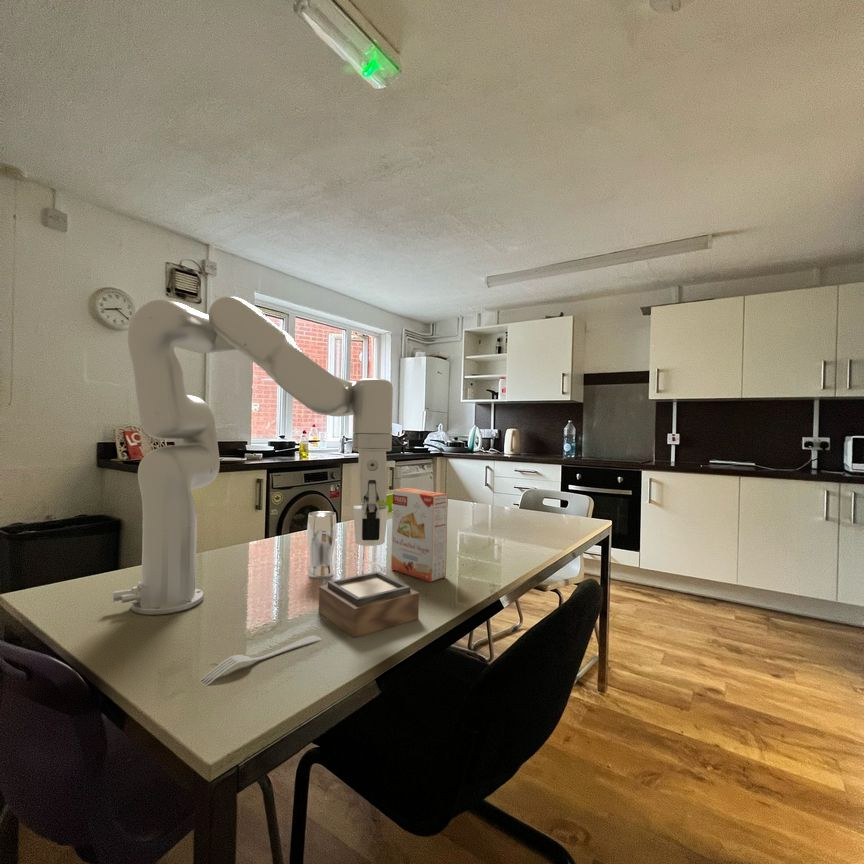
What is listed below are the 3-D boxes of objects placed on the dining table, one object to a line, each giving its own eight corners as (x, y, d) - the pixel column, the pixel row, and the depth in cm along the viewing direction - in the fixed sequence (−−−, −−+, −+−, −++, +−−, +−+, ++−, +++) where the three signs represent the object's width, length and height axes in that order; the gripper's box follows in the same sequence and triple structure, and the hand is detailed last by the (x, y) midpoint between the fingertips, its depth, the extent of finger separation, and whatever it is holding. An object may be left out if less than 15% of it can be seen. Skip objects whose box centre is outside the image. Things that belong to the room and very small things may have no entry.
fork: (324, 655, 80) (326, 638, 80) (202, 691, 64) (205, 671, 64) (314, 649, 82) (316, 633, 82) (193, 684, 66) (196, 664, 66)
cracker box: (389, 570, 119) (391, 488, 119) (406, 565, 124) (408, 486, 124) (430, 583, 110) (432, 495, 110) (446, 577, 115) (449, 492, 114)
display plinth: (354, 637, 81) (354, 603, 81) (318, 611, 92) (319, 581, 92) (418, 618, 90) (419, 587, 90) (379, 596, 100) (379, 569, 100)
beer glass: (299, 575, 113) (301, 514, 113) (319, 568, 119) (320, 509, 119) (322, 580, 110) (323, 517, 110) (341, 573, 116) (342, 512, 116)
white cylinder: (345, 541, 90) (345, 505, 90) (373, 536, 95) (374, 502, 95) (366, 548, 86) (367, 510, 86) (395, 542, 90) (395, 506, 90)
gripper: (395, 445, 82) (392, 546, 82) (388, 442, 99) (386, 525, 100) (351, 444, 81) (349, 547, 81) (353, 441, 98) (351, 526, 98)
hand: (370, 534), depth 90 cm, fingers closed on white cylinder, 6 cm apart
